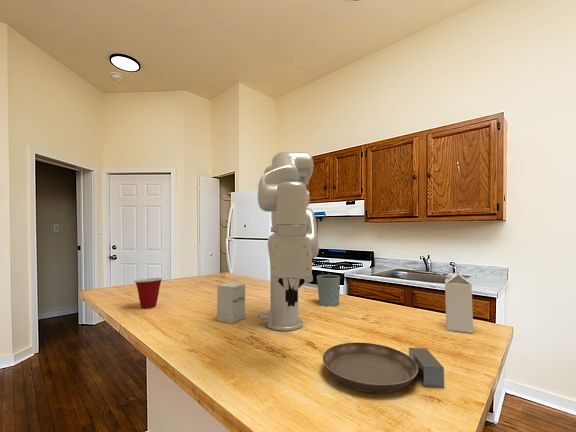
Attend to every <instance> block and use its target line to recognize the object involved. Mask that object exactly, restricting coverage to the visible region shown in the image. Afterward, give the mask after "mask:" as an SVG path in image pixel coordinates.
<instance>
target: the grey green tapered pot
mask: <svg viewBox="0 0 576 432" xmlns="http://www.w3.org/2000/svg"><path fill="white" fill-rule="evenodd" d="M316 283H317V294H318V304H319V305H320V306H322V305H323V307H327V306H333V307H337V306H339V305H340V287H341V286H340V283H341V276H340V275H338V274H337V275H336V274H335V275H334V274H319V275H316Z"/></svg>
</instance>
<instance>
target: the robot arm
mask: <svg viewBox="0 0 576 432" xmlns="http://www.w3.org/2000/svg"><path fill="white" fill-rule="evenodd" d="M272 157H273V158H272V160H271V165H269V166H267V167H266V168H265V170H264V172H263V175H262V176H261V177H260V179H259V181H258V187H257V205H258V207H259V208H260V210H262V211H263V212H270V213H271V214H270V215H271V216H270V217H271V219H270V220H271V227H270V232H271V233H272V234H270V236H269V237H268V239H267V250H268V257H269V268H270V269H269V270H270V272H269V273H270V277H269V278H270V279H269V281H270V294H269V295H270V297H269V298H270V300H269V301H270V310H267V311H266V312H265V311H258V313H257V318H259V319H260V320H266V321H265V325H266V328H268V329H270V330H274V331H284V332H286V331H294V330H299V329H301V328H302V327H303V326H304V320H302V319H301V318H299V289H300V288H301V287H302V286H303V285H304V284H308V283H311V282H313V281H314V278H313V277H314V276H313V274H312V272H313V261H312V260H313V259H316V258H317V257H318V255H319V251H320V245H319V237H318V236H319V235H318V230H317V220H316V216H315V212H314V211H313V209H312V208H310V207H309V205H310V201H311V199H310V198H311V197H310V192H309V190H308V189H307V185H308V184H309V182H310V179H311V177H312V175H313V173H314V160H313V157H312V155H311V154H310V153H308V152H307V151H282V152H278V153H276V154H275V155H273V156H272Z"/></svg>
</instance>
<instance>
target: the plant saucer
mask: <svg viewBox="0 0 576 432" xmlns="http://www.w3.org/2000/svg"><path fill="white" fill-rule="evenodd" d="M322 362H323V364H324V366H325V368H326V369H327V371H328V372H329V374H331V375H332V376H333V377H334V378H335V379H336V380H337V381H338V382H340V383H341V384H343V385H345V386H347V387H348V388H351V389H353V390H357V391H361V392H366V393H372V394H373V393H374V394H384V393H385V394H386V393H393V392H397V391H399V390H402V389H403V388H405V387H407V386H408V385H409V384H410V383H412V382H413V380H415V378H416V377H417V373H418V366H417V364H416V362H415V361H414V360H413V359H412V358H411V357H409V354H406V353H405V352H403V351H401V350H399V349H396V348H393V347H391V346H387V345H382V344H378V343H371V342H356V341H355V342H345V343H340V344H335V345H333V346H330V347H329V348H328V349H326V350H325V352H324V353H323V355H322Z"/></svg>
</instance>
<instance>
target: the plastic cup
mask: <svg viewBox="0 0 576 432" xmlns="http://www.w3.org/2000/svg"><path fill="white" fill-rule="evenodd" d="M162 280H163V277H154V278H153V277H151V278H150V277H149V278H141V279H137V280H134V283H135V284H136V285H135V286H136V289H137V292H138V293H137V295H138V299H139V303H140V308H141V309H142V308H144V310H148V309H147V308H150V309H153V307H154V308H156V307H157V302H158V299H159V298H158V297H159V292H160V287H161V284H162ZM155 306H156V307H155Z"/></svg>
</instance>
